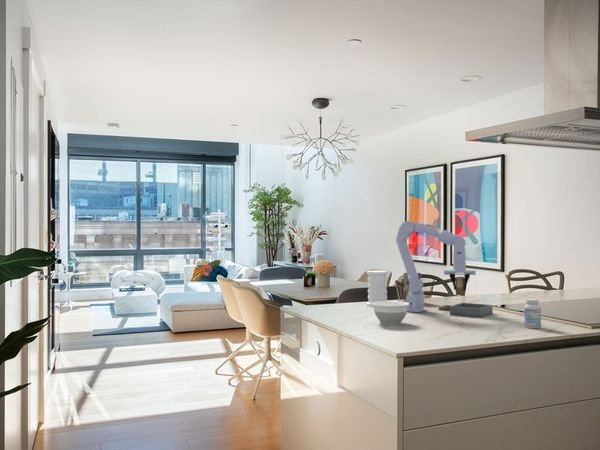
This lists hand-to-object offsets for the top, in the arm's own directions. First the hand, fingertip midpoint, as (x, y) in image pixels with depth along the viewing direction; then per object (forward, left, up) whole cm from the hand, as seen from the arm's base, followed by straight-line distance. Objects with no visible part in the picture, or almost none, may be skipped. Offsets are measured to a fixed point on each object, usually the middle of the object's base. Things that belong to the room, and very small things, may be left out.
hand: (460, 289), depth 264 cm
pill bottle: (-23, -40, -11) cm, 47 cm away
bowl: (-47, +11, -11) cm, 50 cm away
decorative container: (-3, +44, -11) cm, 45 cm away
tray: (-4, -7, -11) cm, 13 cm away
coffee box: (+17, +34, -11) cm, 39 cm away
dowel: (0, 0, -2) cm, 2 cm away
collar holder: (+4, +7, -11) cm, 13 cm away
